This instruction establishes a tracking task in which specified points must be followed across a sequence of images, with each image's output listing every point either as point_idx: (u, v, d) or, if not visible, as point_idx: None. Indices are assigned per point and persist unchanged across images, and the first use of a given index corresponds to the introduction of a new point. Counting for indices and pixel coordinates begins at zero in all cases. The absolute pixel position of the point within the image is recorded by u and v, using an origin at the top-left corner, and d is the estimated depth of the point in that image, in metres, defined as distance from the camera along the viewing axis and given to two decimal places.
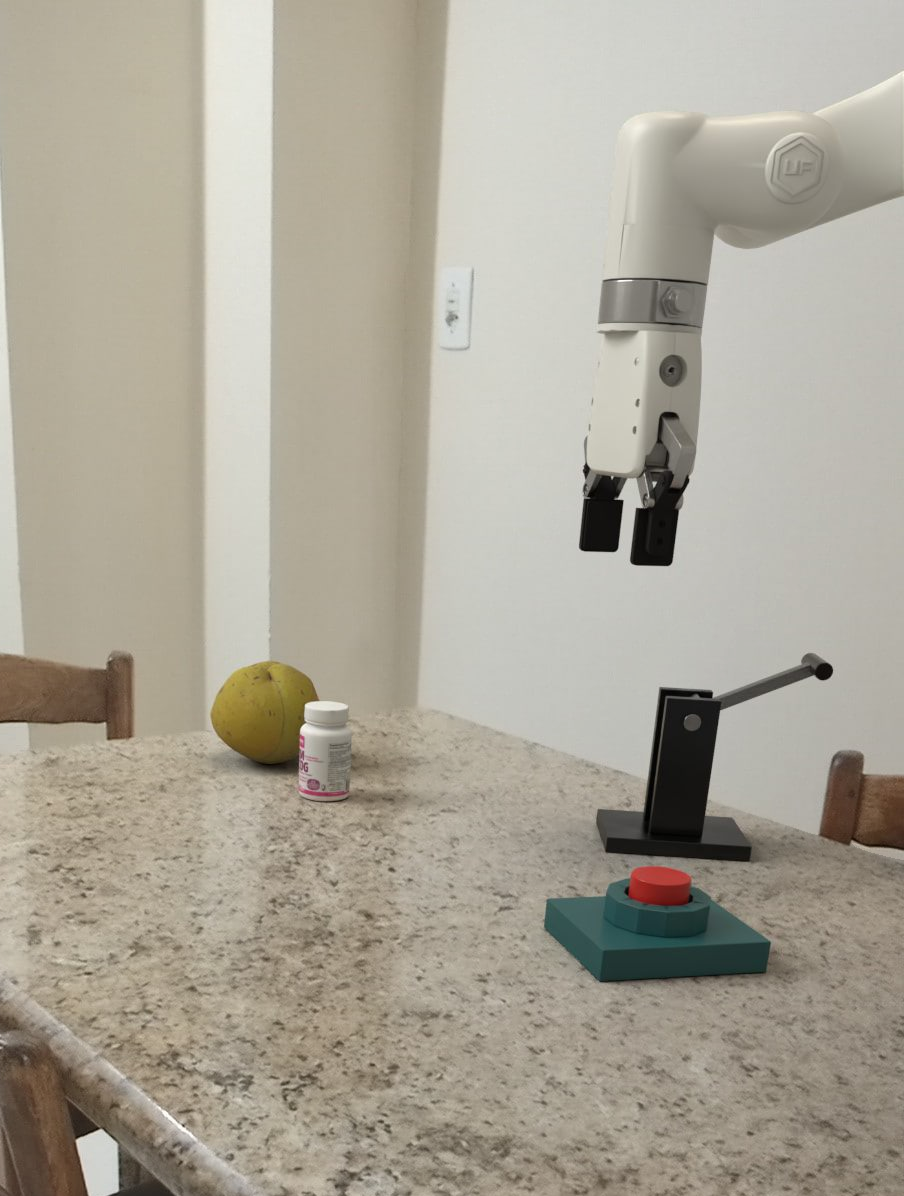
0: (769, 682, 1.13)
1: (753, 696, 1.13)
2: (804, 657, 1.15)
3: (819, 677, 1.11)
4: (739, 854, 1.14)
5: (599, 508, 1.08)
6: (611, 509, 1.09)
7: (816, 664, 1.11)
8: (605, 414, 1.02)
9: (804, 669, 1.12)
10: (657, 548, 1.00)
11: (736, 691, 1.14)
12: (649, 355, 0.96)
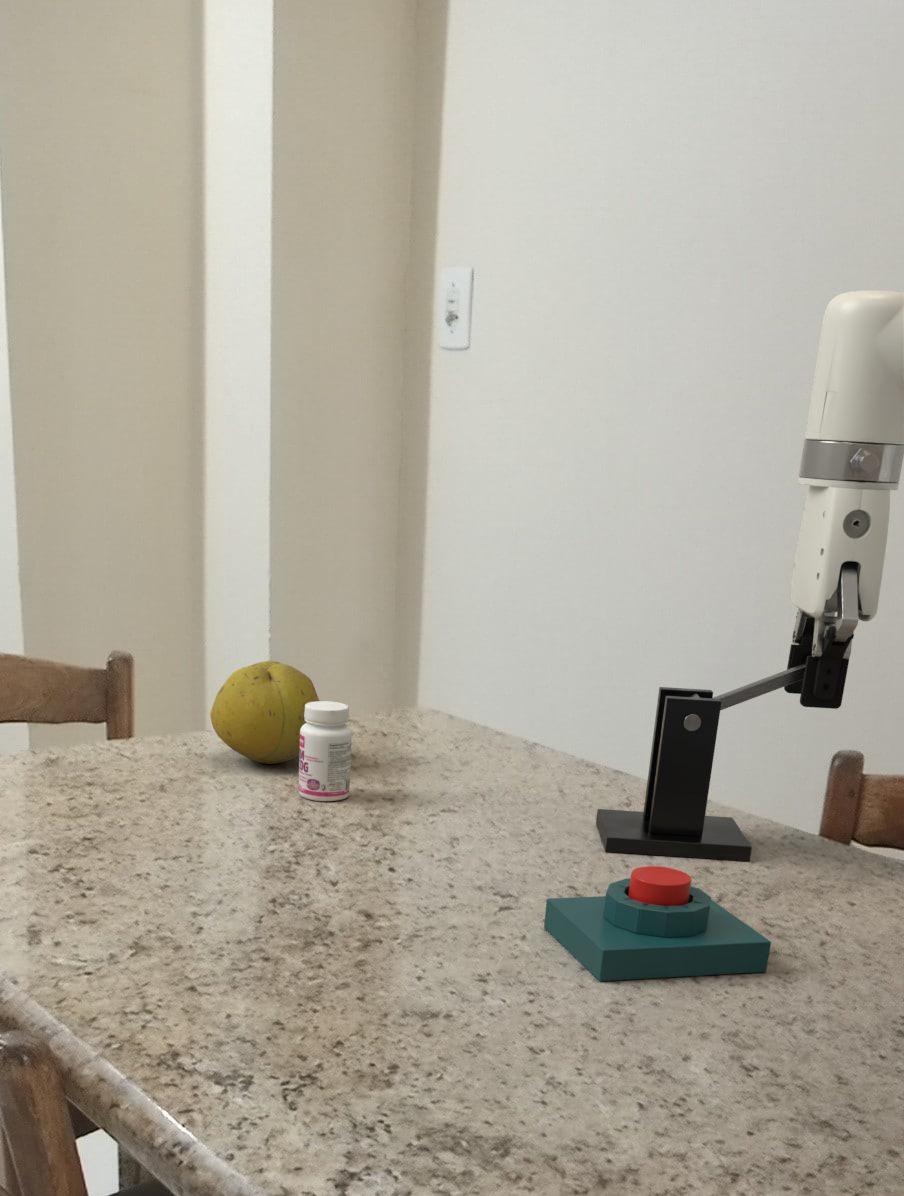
0: (769, 682, 1.13)
1: (753, 696, 1.13)
2: (804, 657, 1.15)
3: None
4: (739, 854, 1.14)
5: (805, 654, 1.15)
6: None
7: None
8: (802, 557, 1.10)
9: (804, 669, 1.12)
10: (824, 693, 1.10)
11: (736, 691, 1.14)
12: (834, 510, 1.04)
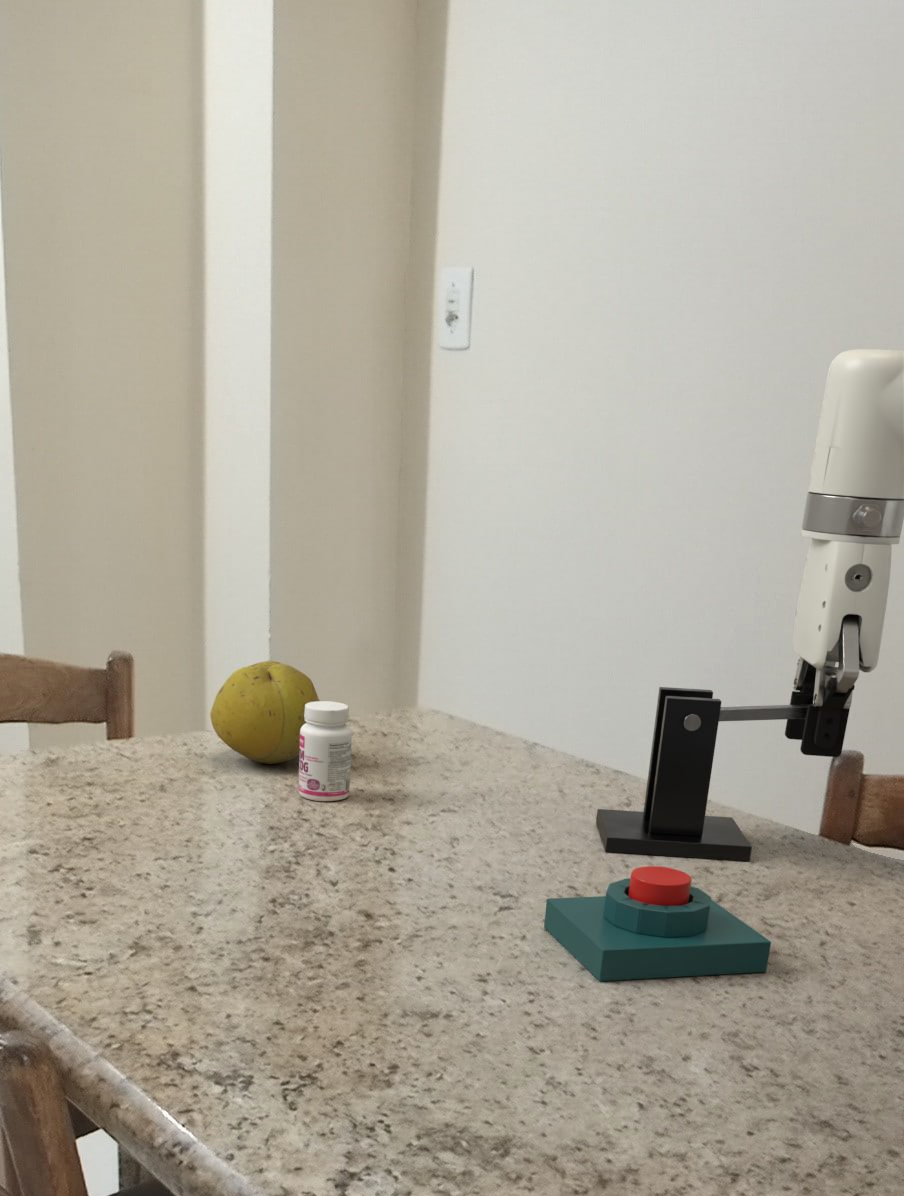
0: (773, 710, 1.14)
1: (754, 718, 1.14)
2: (811, 699, 1.16)
3: None
4: (739, 854, 1.14)
5: (805, 701, 1.16)
6: None
7: None
8: (804, 607, 1.12)
9: None
10: (824, 742, 1.11)
11: (740, 708, 1.14)
12: (837, 563, 1.06)
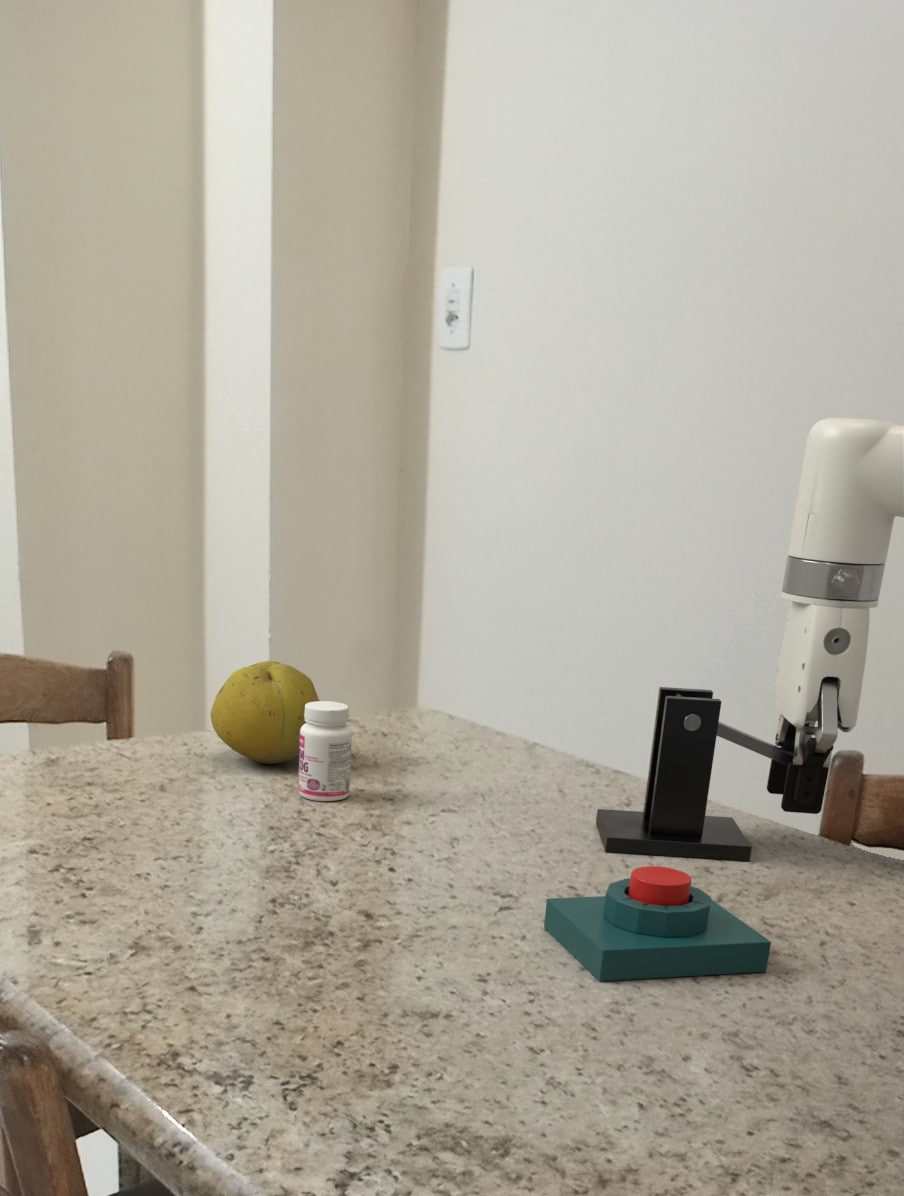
0: (765, 746, 1.15)
1: (745, 745, 1.15)
2: None
3: None
4: (739, 854, 1.14)
5: None
6: None
7: None
8: (784, 666, 1.14)
9: None
10: (804, 799, 1.13)
11: (737, 730, 1.15)
12: (815, 627, 1.07)
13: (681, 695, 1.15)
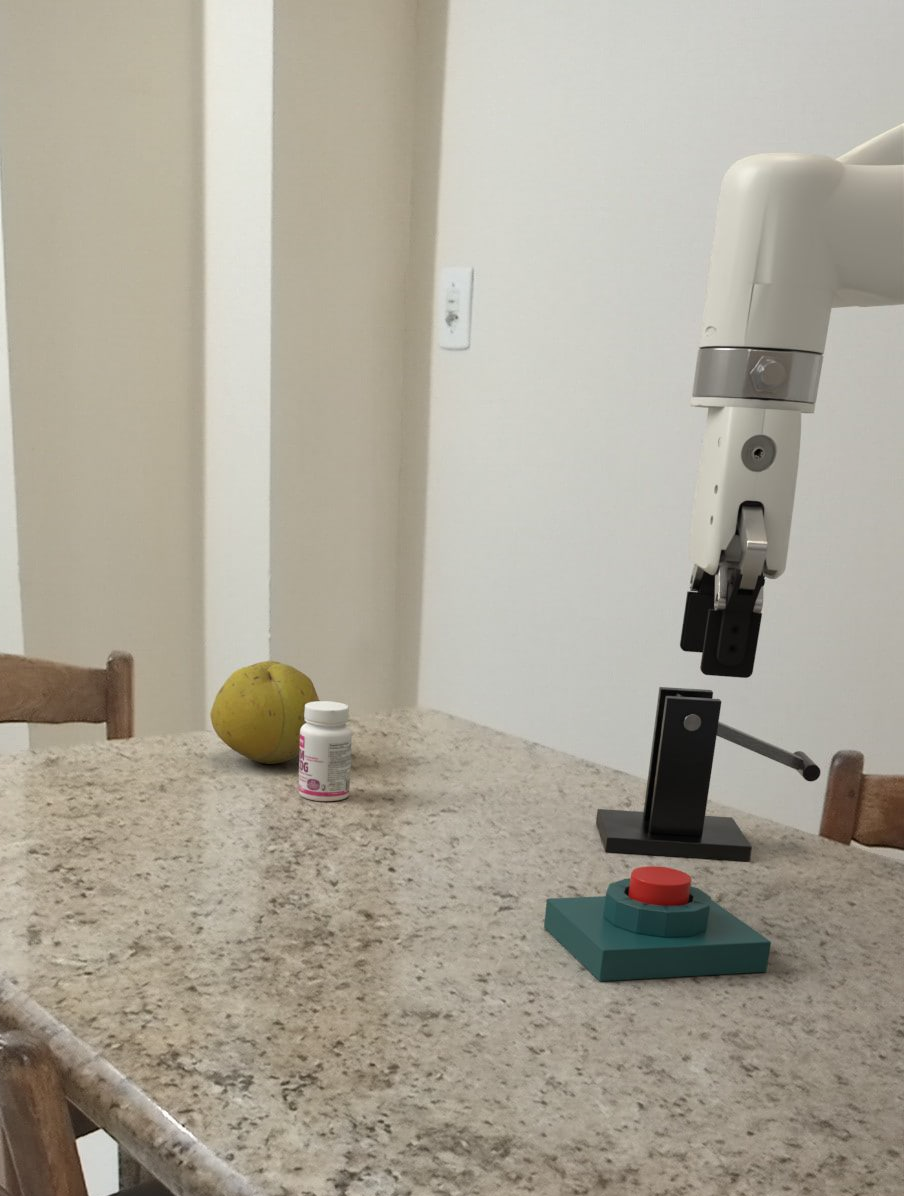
0: (765, 746, 1.15)
1: (745, 745, 1.15)
2: (798, 752, 1.17)
3: (804, 774, 1.14)
4: (739, 854, 1.14)
5: (703, 603, 0.94)
6: None
7: (810, 763, 1.14)
8: (697, 499, 0.88)
9: (796, 759, 1.15)
10: (729, 657, 0.86)
11: (737, 730, 1.15)
12: (731, 435, 0.82)
13: (681, 695, 1.15)
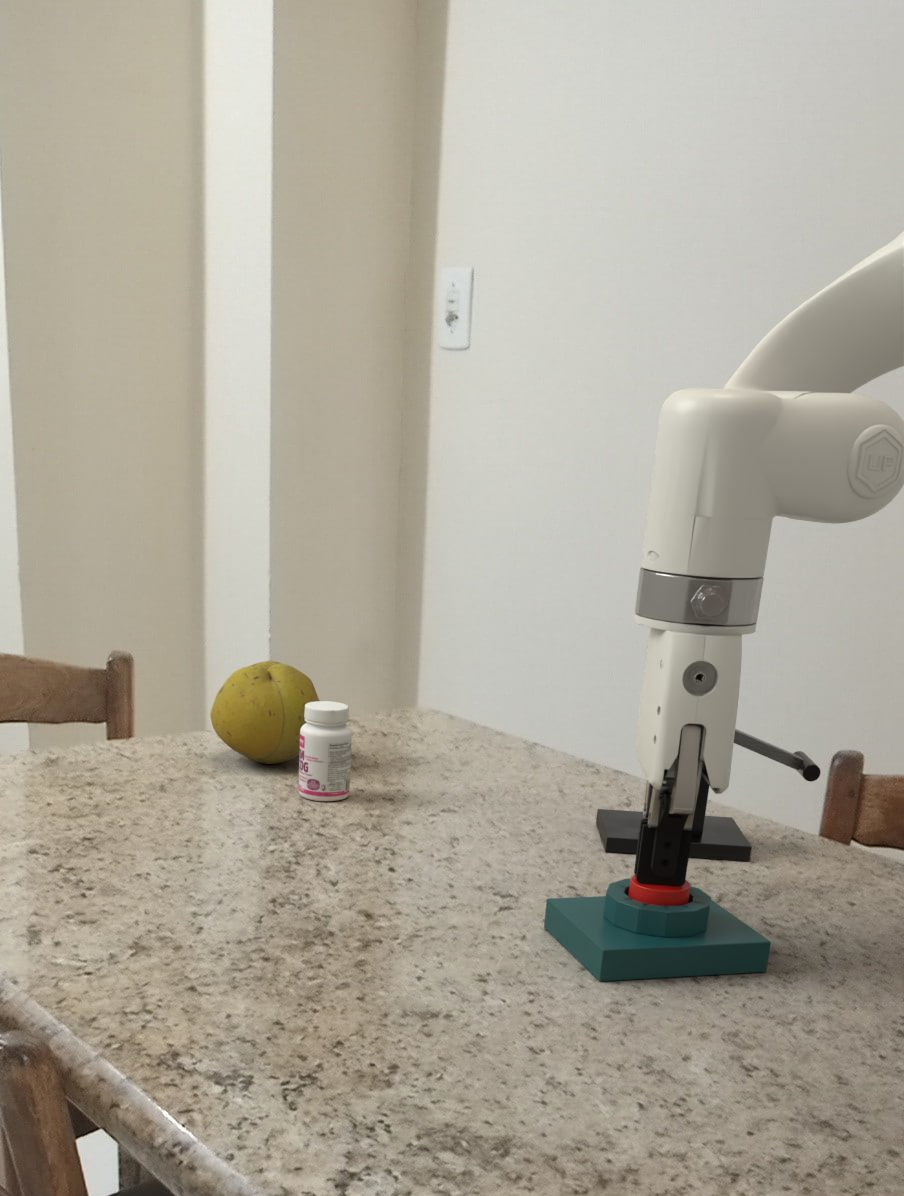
0: (765, 746, 1.15)
1: (745, 745, 1.15)
2: (798, 752, 1.17)
3: (804, 774, 1.14)
4: (739, 854, 1.14)
5: None
6: None
7: (810, 763, 1.14)
8: (642, 708, 0.89)
9: (796, 759, 1.15)
10: (662, 869, 0.91)
11: (737, 730, 1.15)
12: (672, 660, 0.83)
13: None
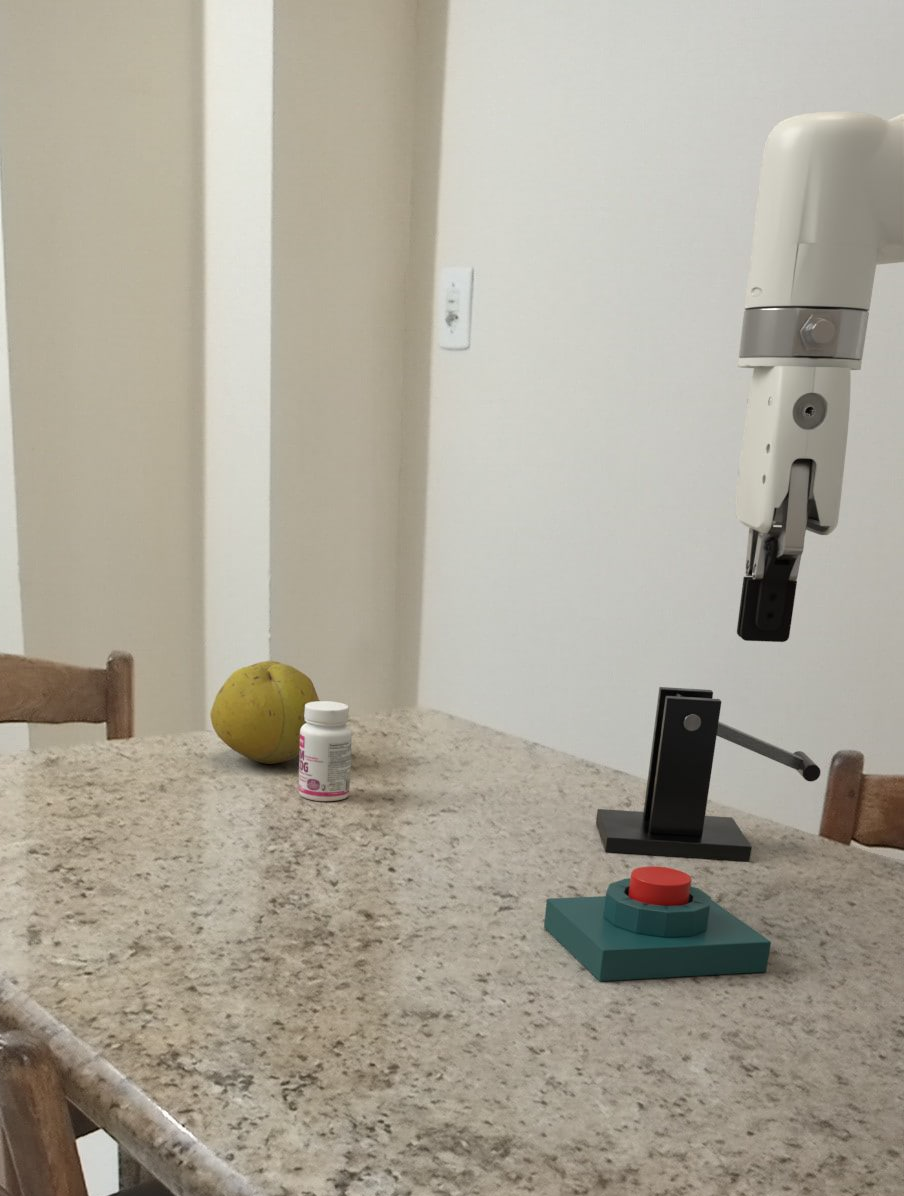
0: (765, 746, 1.15)
1: (745, 745, 1.15)
2: (798, 752, 1.17)
3: (804, 774, 1.14)
4: (739, 854, 1.14)
5: None
6: None
7: (810, 763, 1.14)
8: (746, 459, 0.90)
9: (796, 759, 1.15)
10: (767, 623, 0.92)
11: (737, 730, 1.15)
12: (782, 394, 0.84)
13: (681, 695, 1.15)
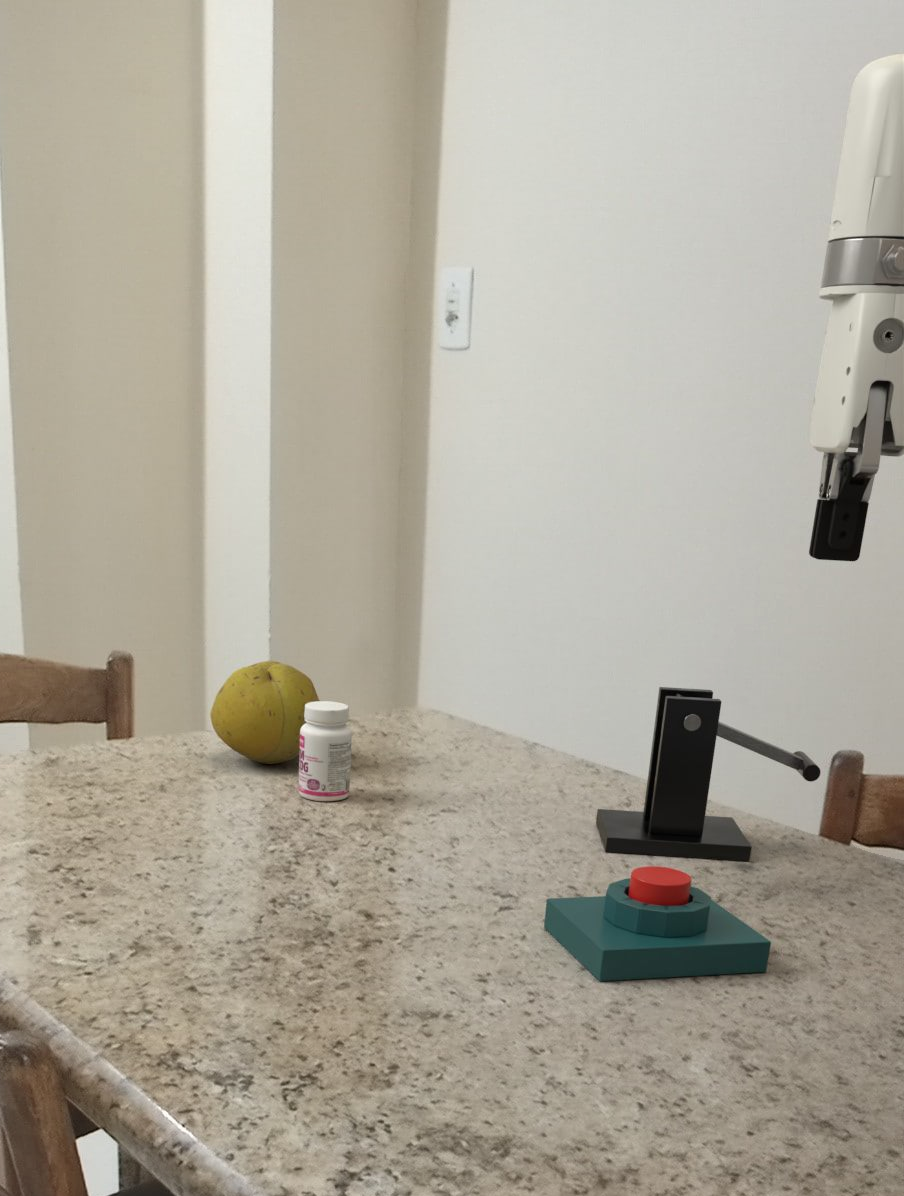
0: (765, 746, 1.15)
1: (745, 745, 1.15)
2: (798, 752, 1.17)
3: (804, 774, 1.14)
4: (739, 854, 1.14)
5: None
6: None
7: (810, 763, 1.14)
8: (823, 386, 0.95)
9: (796, 759, 1.15)
10: (840, 542, 0.97)
11: (737, 730, 1.15)
12: (863, 319, 0.89)
13: (681, 695, 1.15)
